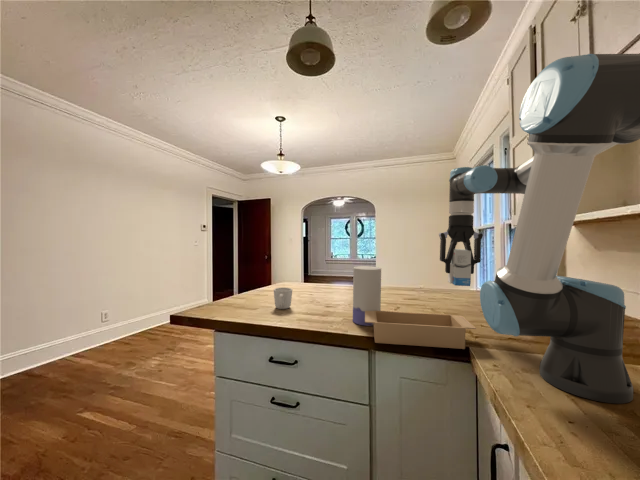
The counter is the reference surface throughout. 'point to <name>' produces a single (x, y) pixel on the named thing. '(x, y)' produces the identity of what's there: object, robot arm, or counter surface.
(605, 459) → the counter surface
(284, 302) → the cup
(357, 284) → the container
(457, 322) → the carton
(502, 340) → the counter surface
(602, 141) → the robot arm
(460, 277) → the ink box
